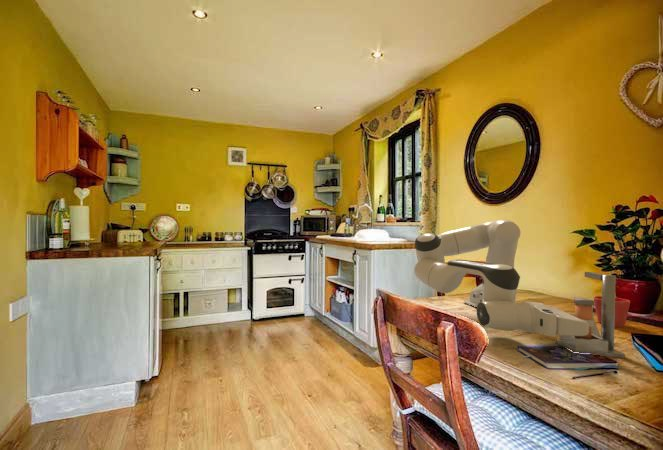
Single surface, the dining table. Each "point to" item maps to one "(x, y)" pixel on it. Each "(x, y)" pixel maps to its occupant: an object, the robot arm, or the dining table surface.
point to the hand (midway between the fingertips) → (586, 320)
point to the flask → (594, 328)
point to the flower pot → (620, 310)
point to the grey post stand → (606, 342)
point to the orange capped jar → (584, 312)
